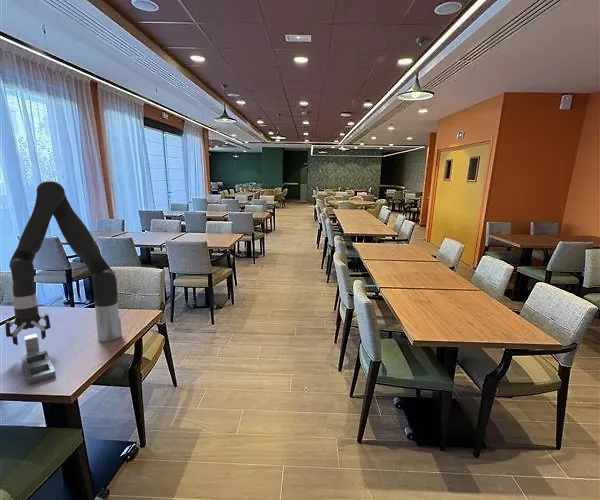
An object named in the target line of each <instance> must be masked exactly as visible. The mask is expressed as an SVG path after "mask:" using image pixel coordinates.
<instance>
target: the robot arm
mask: <svg viewBox="0 0 600 500" xmlns="http://www.w3.org/2000/svg"><path fill="white" fill-rule="evenodd" d="M35 192H36V197H35V204H34V207H33V210H32V213H31V215H30V216H29V219H28V221H27V223H26V225H25V227H24V229H23V231H22V234H21V237H20V239H19V241H18V244H17V248H16V249H15V251H14V253H13V255H12V257H11V258H10V261H9V269H10V272H11V279H12V293H13V294H12V295H13V299H12V300H13V301H12V302H13V304H12V305H13V311H14V318H15V319H14V320H11V321H10V320H6V321H5V337H6V338H12V343H13V345H15V346H19V343H18V342H19V341H18V335H19V333H20V332H21V331H22V330H24V331H25V330H28V329H34V328H35V327H36V328H38V329H39V330H40V335H41V336H40V337H41V339H42V340H45V338H47V335H46V330H48V329H51V323H50V322H51V321H50V316H49V314H48V313H44V314H43V315H40V313H39V311H40V310H39V304H38V303H39V301H38V297H37V293H36V292H37V291H36V290H37V289H36V284H35V266H34V263H33V262H34V260H35V257H36V255H37V253H39V251H40V250H41V248H42V245H43V243H44V240H45V238H46V234H47V232H48V228H49V225H50V222H51V220H52V217H54V219H55V221H56V223H57V225H58V228H59V230H60V233H61V234H62V236H63V238H64V239H65V241H66V243H67V244H68V245H69V247H70V249H71V250H72V251H73V253H74V254H75V255H76V256H77V257H78V258H79V259H80V260H81V261H82V262H83V263H84V265H85V266H86V267H87V269H88V271H89V274H90V276H91V278H92V291H93V301H94V307H95V321H96V330H97V341H99V342H101V343H107V342H112V341H115V340H118V339H120V338H122V337H123V333H122V332H123V331H122V321H121V320H122V319H121V317H120V314H119V313H120V311H119V301H118V299H119V296H118V295H119V294H118V284H117V283H118V282H117V277H116V273H115V271H114V270H113V269H112V268H111V267H110V266H109V264H108V263H107V261H106V260H105V259H104V257H103V256H102V254H101V252H100V251H101V250H100V249H99V247H98V245H97V244H96V241H95V239H94V237H93V236H92V234H91V232H90V230H89V228H88V227H87V225H85V223H84V222H83V221H82V219H80V217H79V216H78V214H77V213H76V212H75V211H74V209H73V207H72V206H71V204H70V202H69V200H68V197H67V195H66V192H65V188H64V187H63V185H62V184H60V183H59V182H56V181H53V180H46V181H42V182H40V183H39V184H38V186H37V187H36V191H35ZM41 320H43V321H45V325H43V324H41V323H40V321H41ZM13 325H16V327H15V328H14V331H13V332H11V328H12V327H13Z"/></svg>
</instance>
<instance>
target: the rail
mask: <svg viewBox="0 0 600 500" xmlns="http://www.w3.org/2000/svg"><path fill="white" fill-rule="evenodd" d="M21 362H22V366H23V371H24V373H25V377H26V381H27V384H28V386H32V385H35V384H38V383H41V382H44V381H48V380H52V379H54V378H57V376H56V374H57V373H56V370H55V367H54V365H53V363H52V360H51V359H50V356H49V354H48V351H47V350H44V351H39V353H35V354H32V355H28V356H27V355H24V356H22V357H21Z"/></svg>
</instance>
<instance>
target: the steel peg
mask: <svg viewBox="0 0 600 500" xmlns="http://www.w3.org/2000/svg"><path fill="white" fill-rule="evenodd" d="M23 339H24V345H25V352H26V354H25V355H26V356H28V355H32V354H35V353H39V352H40V346H39V345H40V344H39V338H38V335H37V333H34V334H29V335H25V336H23Z"/></svg>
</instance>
